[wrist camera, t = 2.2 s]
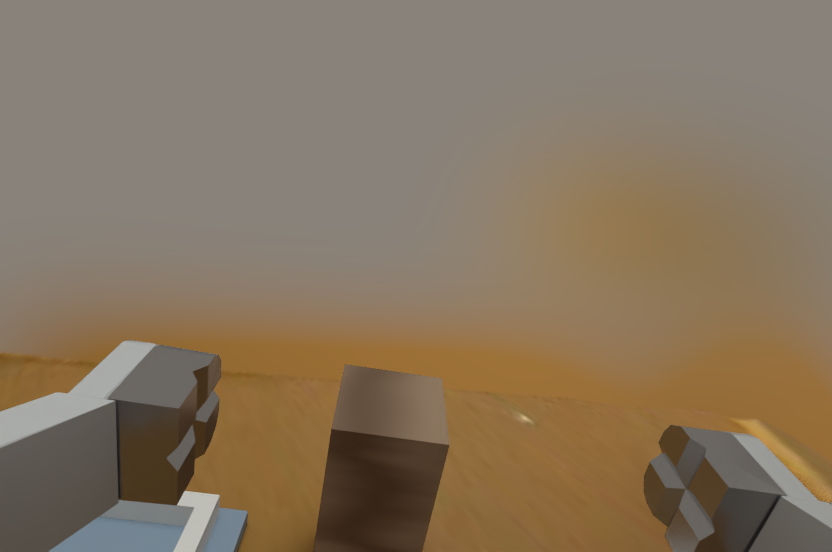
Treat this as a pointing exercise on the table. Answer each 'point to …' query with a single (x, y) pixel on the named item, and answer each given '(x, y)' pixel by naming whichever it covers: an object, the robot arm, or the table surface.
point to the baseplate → (162, 527)
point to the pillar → (382, 462)
